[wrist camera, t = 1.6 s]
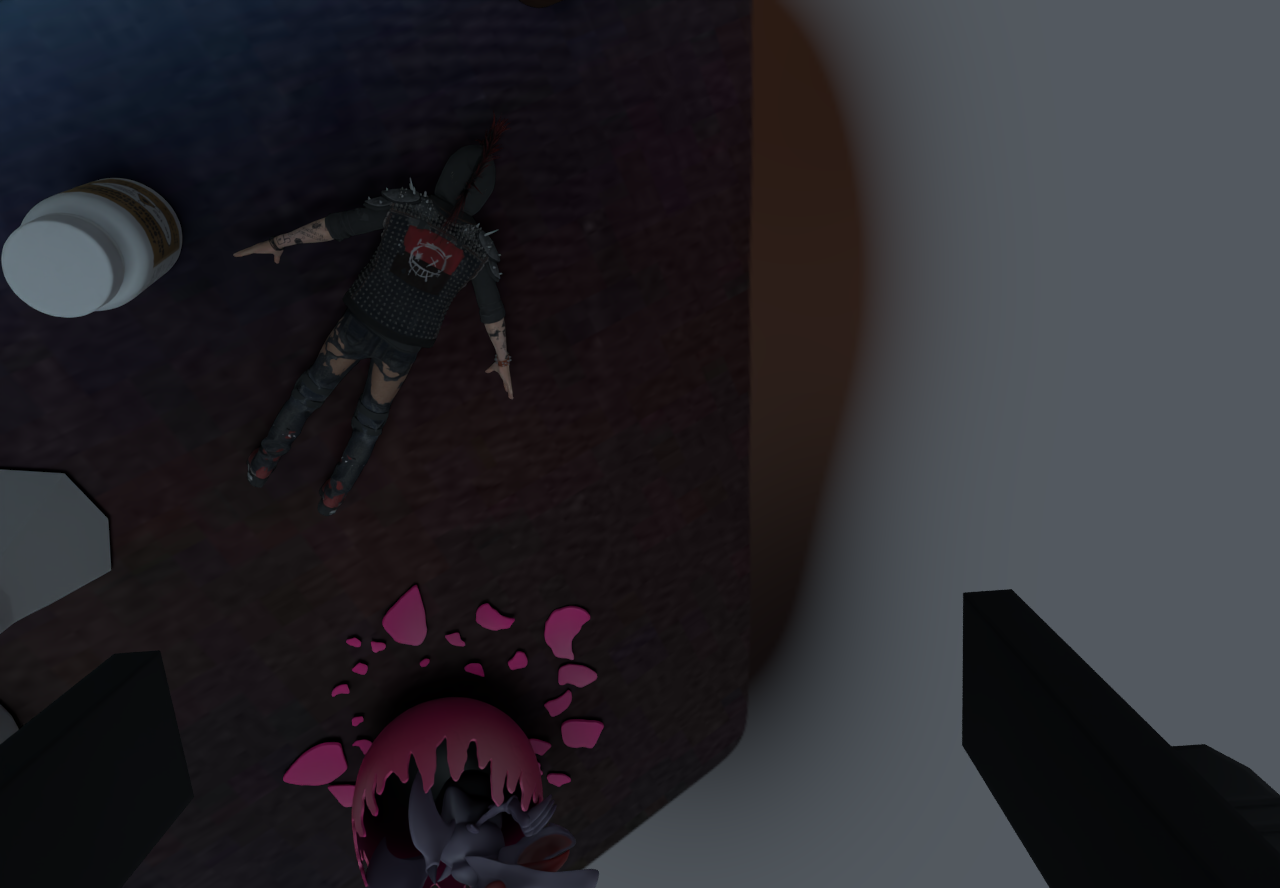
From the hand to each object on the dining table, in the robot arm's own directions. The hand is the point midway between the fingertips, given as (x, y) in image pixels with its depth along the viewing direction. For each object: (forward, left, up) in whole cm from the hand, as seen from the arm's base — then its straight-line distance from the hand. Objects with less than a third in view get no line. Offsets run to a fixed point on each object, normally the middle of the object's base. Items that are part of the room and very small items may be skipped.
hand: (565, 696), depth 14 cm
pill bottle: (-12, -9, -30) cm, 34 cm away
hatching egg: (+17, -21, -30) cm, 40 cm away
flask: (-7, -24, -30) cm, 39 cm away
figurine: (-2, -4, -30) cm, 30 cm away
